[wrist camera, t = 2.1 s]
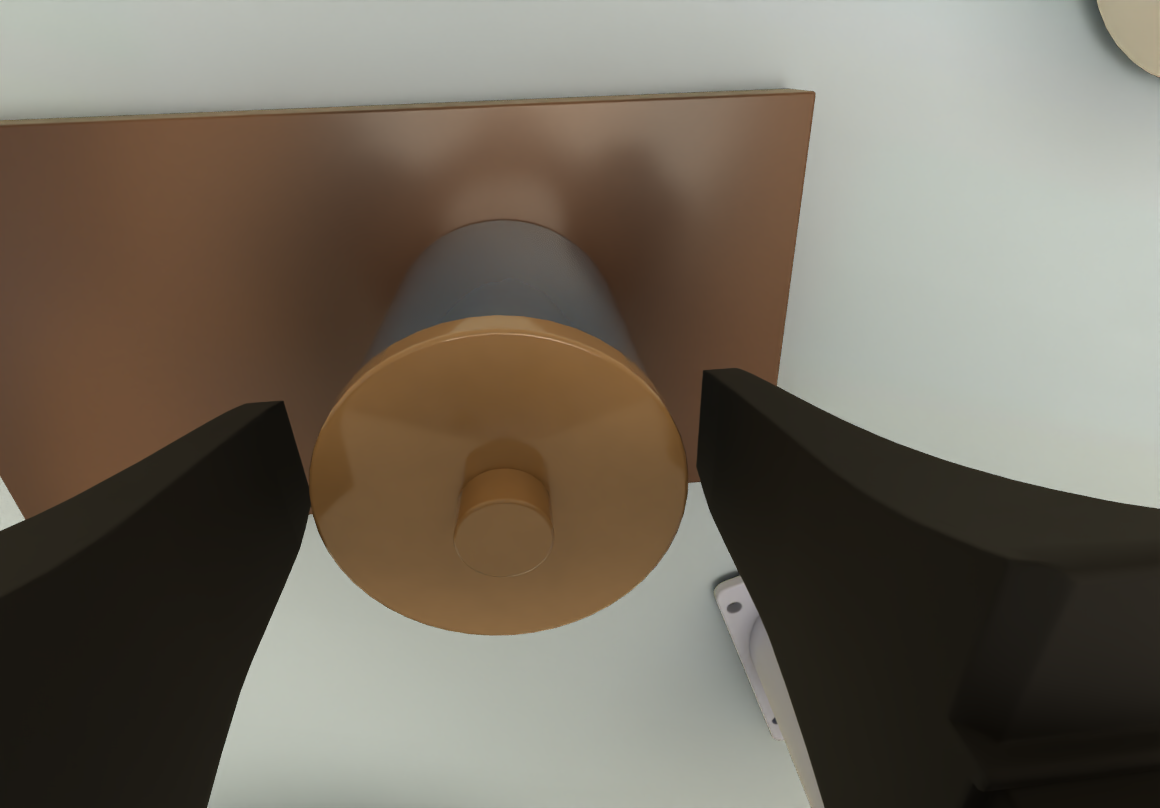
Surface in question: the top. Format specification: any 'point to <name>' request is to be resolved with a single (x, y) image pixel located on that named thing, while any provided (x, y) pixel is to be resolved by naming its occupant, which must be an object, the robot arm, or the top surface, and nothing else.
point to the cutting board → (360, 252)
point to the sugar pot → (499, 443)
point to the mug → (1135, 30)
